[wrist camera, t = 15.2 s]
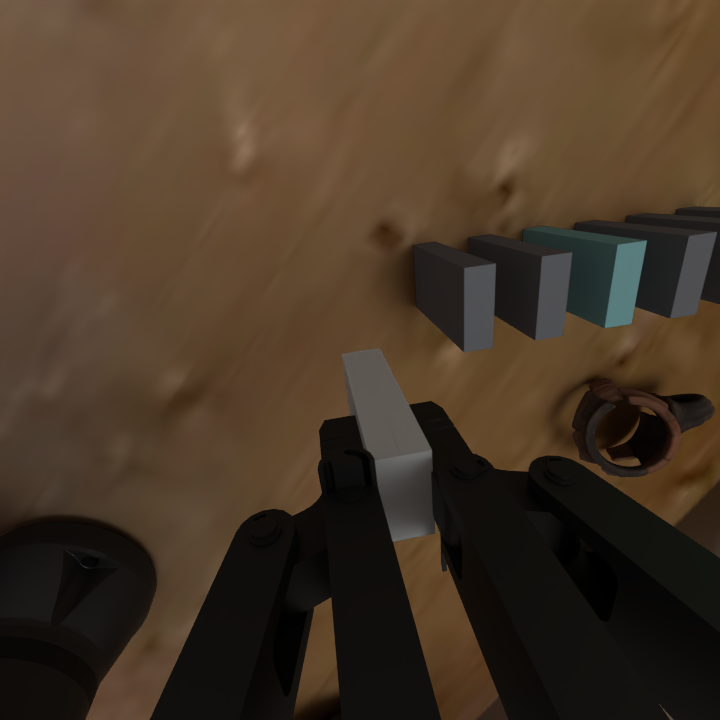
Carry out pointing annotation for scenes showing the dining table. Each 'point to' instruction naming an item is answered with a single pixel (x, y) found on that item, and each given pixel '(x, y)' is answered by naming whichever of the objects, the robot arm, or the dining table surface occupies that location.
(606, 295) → the teal domino
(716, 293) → the domino
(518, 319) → the domino
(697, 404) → the pottery mug
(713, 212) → the domino
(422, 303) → the domino
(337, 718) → the gourd
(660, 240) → the domino
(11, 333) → the dining table surface
